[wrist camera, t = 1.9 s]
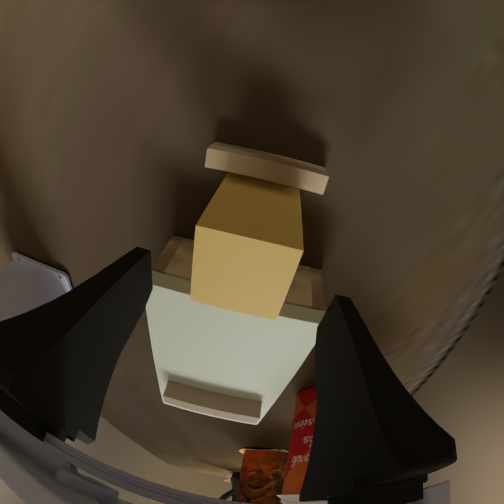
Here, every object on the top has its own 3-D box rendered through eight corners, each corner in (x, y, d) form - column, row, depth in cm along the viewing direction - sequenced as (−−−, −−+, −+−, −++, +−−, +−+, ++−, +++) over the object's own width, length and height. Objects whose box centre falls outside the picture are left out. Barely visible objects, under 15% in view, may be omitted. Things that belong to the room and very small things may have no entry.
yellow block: (218, 231, 17) (189, 300, 12) (228, 171, 15) (195, 225, 10) (281, 246, 17) (276, 320, 12) (299, 188, 15) (303, 250, 10)
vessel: (290, 446, 43) (281, 532, 27) (306, 456, 51) (300, 527, 35) (226, 445, 48) (211, 522, 32) (251, 457, 55) (241, 522, 39)
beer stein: (274, 479, 83) (267, 528, 63) (229, 475, 86) (220, 522, 66) (271, 474, 74) (263, 530, 53) (220, 469, 77) (209, 523, 57)
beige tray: (175, 367, 28) (166, 393, 25) (180, 135, 14) (151, 152, 11) (261, 388, 28) (258, 415, 25) (359, 178, 14) (376, 205, 11)
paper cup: (360, 381, 26) (365, 501, 14) (341, 407, 30) (340, 504, 19) (291, 379, 26) (280, 506, 15) (282, 406, 31) (271, 506, 20)
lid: (165, 395, 25) (159, 415, 23) (150, 270, 14) (130, 302, 12) (257, 416, 25) (254, 438, 23) (325, 311, 15) (328, 349, 12)
